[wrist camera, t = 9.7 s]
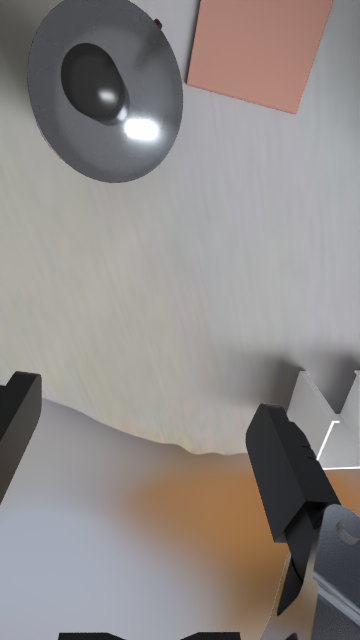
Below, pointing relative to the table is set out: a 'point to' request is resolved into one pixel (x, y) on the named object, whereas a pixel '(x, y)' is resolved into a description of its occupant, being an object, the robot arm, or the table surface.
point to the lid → (105, 88)
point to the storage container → (328, 423)
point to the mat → (257, 49)
